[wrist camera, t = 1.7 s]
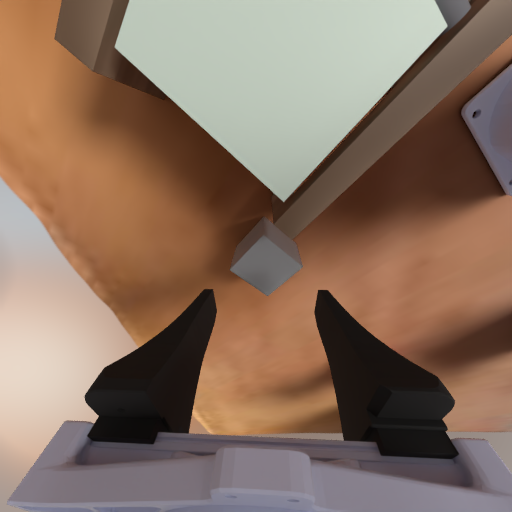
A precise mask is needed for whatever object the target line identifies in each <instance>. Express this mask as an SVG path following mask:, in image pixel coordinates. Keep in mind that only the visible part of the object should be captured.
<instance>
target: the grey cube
mask: <svg viewBox="0 0 512 512" xmlns="http://www.w3.org/2000/svg"><path fill="white" fill-rule="evenodd" d="M302 267H303V265H302V262H301V258H300V255H299V251H298V248H297V244H296V243H295V242H294V241H293V240H291V239H290V238H289V237H288V236H286V235H285V234H284V233H283V232H282V231H281V230H279V229H278V228H277V227H276V226H275V225H274V224H273V223H272V222H270V221H269V220H268V219H267V218H266V217H265V216H264V217H263V218H262V219H261V220H260V221H259V222H258V223H257V224H256V225H255V226H254V228H253V229H252V230H251V231H250V232H249V233H248V234H247V235H246V236H245V237H244V239H243V240H242V241H241V242H240V243H239V244H238V245H237V246H236V249H235V253H234V256H233V260H232V263H231V267H230V271H232V272H233V273H235V274H236V275H238V276H239V277H241V278H242V279H243V280H245V281H246V282H248V283H249V284H251V285H252V286H254V287H255V288H257V289H258V290H259V291H261V292H262V293H264V294H265V295H267V296H268V295H270V294H271V293H272V292H273V291H274V290H276V289H277V288H278V287H279V286H281V285H282V284H283V283H284V282H285V281H287V280H288V279H289V278H290V277H291V276H293V275H294V274H295V273H296V272H297V271H299V270H300V269H301V268H302Z"/></svg>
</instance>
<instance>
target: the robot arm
mask: <svg viewBox="0 0 512 512" xmlns="http://www.w3.org/2000/svg"><path fill="white" fill-rule="evenodd" d="M475 111H476V115H475V116H474V117H472V115H473V113H474V112H475ZM461 114H462V117H463V119H464V120H465V122H466V124H467V126H468V128H469V129H470V131H471V133H472V135H473V136H474V138H475V140H476V142H477V143H478V145H479V147H480V149H481V151H482V152H483V154H484V156H485V158H486V159H487V161H488V163H489V165H490V167H491V168H492V170H493V172H494V174H495V175H496V177H497V179H498V181H499V183H500V184H501V186H502V188H503V190H504V191H505V193H506V194H507V195H510V196H512V64H511V65H509V66H508V67H507V68H506V69H505V70H504V71H503V72H501V73H500V74H499V75H498V76H497V77H496V78H495V79H494V80H492V81H491V82H490V83H489V84H488V85H487V86H486V87H484V88H483V89H482V90H481V91H480V92H479V93H478V94H477V95H475V96H474V97H473V98H472V99H471V100H470V101H469V102H467V103H466V104H465V106H464V107H463V109H462V112H461ZM510 181H511V182H510ZM509 182H510V183H509ZM216 313H217V309H216V303H215V298H214V292H213V289H204V290H203V291H202V292H201V293H200V295H199V296H198V297H197V298H196V299H195V300H194V301H193V302H192V303H191V305H190V306H189V307H188V308H187V309H186V310H185V311H184V312H183V313H182V314H181V315H180V316H179V317H178V318H177V319H176V320H175V321H173V322H172V323H171V324H170V325H169V326H168V327H167V328H165V329H164V330H163V331H162V332H161V333H159V334H158V335H156V336H155V337H154V338H152V339H151V340H150V341H148V342H147V343H145V344H144V345H142V346H141V347H139V348H138V349H136V350H135V351H133V352H131V353H130V354H128V355H127V356H125V357H123V358H121V359H119V360H118V361H116V362H114V363H112V364H110V365H109V366H107V367H105V368H104V369H103V370H102V372H101V373H100V375H99V376H98V377H97V379H96V380H95V382H94V383H93V384H92V386H91V387H90V389H89V390H88V392H87V393H86V395H85V401H86V403H87V404H88V405H89V406H90V407H91V408H92V409H93V410H94V412H95V413H96V414H97V415H99V417H98V419H97V420H96V422H95V424H93V423H91V422H86V421H65V422H64V423H63V424H62V426H61V427H60V429H59V430H58V431H57V433H56V434H55V436H54V437H53V439H52V440H51V441H50V442H49V444H48V445H47V447H46V448H45V449H44V451H43V452H42V454H41V455H40V456H39V458H38V459H37V461H36V462H35V463H34V465H33V466H32V467H31V469H30V470H29V472H28V473H27V474H26V476H25V477H24V479H23V480H22V481H21V483H20V484H19V486H18V487H17V488H16V490H15V491H14V492H13V494H12V495H11V497H10V498H9V499H8V501H7V504H8V505H10V506H14V507H17V508H20V509H23V510H26V511H29V512H512V473H511V472H510V471H509V469H508V468H507V466H506V465H505V464H504V462H503V461H502V460H501V458H500V457H499V456H498V454H497V453H496V452H495V450H494V449H493V447H492V446H491V445H490V443H489V442H488V441H487V440H485V439H471V438H455V439H451V440H450V438H449V437H448V435H447V434H446V432H445V431H447V430H448V429H447V426H446V425H445V423H444V421H443V420H442V419H443V418H444V417H445V416H446V415H447V414H448V413H449V412H450V411H451V410H452V408H453V407H454V404H455V400H454V399H453V397H452V396H451V394H450V393H449V391H448V390H447V389H446V387H445V386H444V385H443V383H442V382H441V381H440V379H439V378H438V377H437V376H435V375H433V374H432V373H430V372H428V371H426V370H424V369H423V368H421V367H419V366H417V365H416V364H414V363H412V362H411V361H409V360H408V359H406V358H404V357H403V356H401V355H400V354H398V353H397V352H395V351H394V350H392V349H391V348H389V347H388V346H387V345H385V344H384V343H382V342H381V341H380V340H378V339H377V338H376V337H374V336H373V335H372V334H371V333H370V332H368V331H367V330H366V329H365V328H364V327H362V326H361V325H360V324H359V323H358V322H357V321H356V320H355V319H354V318H353V317H352V316H351V315H350V314H349V313H348V312H347V311H346V310H345V309H344V308H343V307H342V306H341V305H340V304H339V302H338V301H337V300H336V299H335V298H334V297H333V296H332V295H331V293H330V292H329V291H328V290H318V294H317V300H316V306H315V318H316V323H317V327H318V330H319V333H320V337H321V340H322V343H323V346H324V349H325V352H326V355H327V358H328V362H329V365H330V370H331V374H332V379H333V384H334V388H335V393H336V398H337V404H338V409H339V414H340V420H341V426H342V432H343V437H344V441H337V440H316V439H295V438H294V439H293V438H273V437H252V436H230V435H207V434H189V428H190V422H191V416H192V410H193V405H194V399H195V394H196V389H197V384H198V379H199V375H200V370H201V366H202V361H203V358H204V354H205V351H206V348H207V345H208V342H209V339H210V336H211V333H212V330H213V327H214V323H215V318H216Z"/></svg>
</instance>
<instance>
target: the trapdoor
mask: <svg viewBox="0 0 512 512" xmlns="http://www.w3.org/2000/svg"><path fill="white" fill-rule="evenodd" d="M470 8H471V6H470V4H469V1H468V0H129V3H128V6H127V9H126V13H125V16H124V19H123V22H122V25H121V28H120V31H119V35H118V38H117V41H116V44H115V48H116V49H117V50H118V51H119V52H120V53H121V54H122V55H123V56H125V57H126V58H127V59H128V60H129V61H130V62H131V63H132V64H133V65H134V66H135V67H137V68H138V69H139V70H140V71H141V72H142V73H143V74H144V75H145V76H146V77H148V78H149V79H150V80H151V81H152V82H153V83H154V84H155V85H156V86H157V87H158V88H160V89H161V90H162V91H163V92H164V93H165V94H166V95H167V96H168V97H169V98H170V99H172V100H173V101H174V102H175V103H176V104H177V105H178V106H179V107H180V108H181V109H183V110H184V111H185V112H186V113H187V114H188V115H189V116H190V117H191V118H192V119H193V120H195V121H196V122H197V123H198V124H199V125H200V126H201V127H202V128H203V129H204V130H205V131H207V132H208V133H209V134H210V135H211V136H212V137H213V138H214V139H215V140H216V141H218V142H219V143H220V144H221V145H222V146H223V147H224V148H225V149H226V150H227V151H228V152H230V153H231V154H232V155H233V156H234V157H235V158H236V159H237V160H238V161H239V162H240V163H242V164H243V165H244V166H245V167H246V168H247V169H248V170H249V171H250V172H251V173H253V174H254V175H255V176H256V177H257V178H258V179H259V180H260V181H261V182H262V183H263V184H265V185H266V186H267V187H268V188H269V189H270V190H271V191H272V192H273V193H274V194H275V195H277V196H278V197H279V198H280V199H281V200H282V201H283V202H284V201H285V200H286V199H287V198H288V197H289V196H290V195H291V194H292V193H293V192H294V190H295V189H296V188H297V187H298V186H299V185H300V184H301V183H302V182H303V181H304V180H305V179H306V178H307V177H308V175H309V174H310V173H311V172H312V171H313V170H314V169H315V168H316V167H317V166H318V165H319V164H320V163H321V162H322V160H323V159H324V158H325V157H326V156H327V155H328V154H329V153H330V152H331V151H332V150H333V149H334V148H335V146H336V145H337V144H338V143H339V142H340V141H341V140H342V139H343V138H344V137H345V136H346V135H347V134H348V133H349V131H350V130H351V129H352V128H353V127H354V126H355V125H356V124H357V123H358V122H359V121H360V120H361V119H362V118H363V116H364V115H365V114H366V113H367V112H368V111H369V110H370V109H371V108H372V107H373V106H374V105H375V104H376V103H377V101H378V100H379V99H380V98H381V97H382V96H383V95H384V94H385V93H386V92H387V91H388V90H389V89H390V88H391V86H392V85H393V84H394V83H395V82H396V81H397V80H398V79H399V78H400V77H401V76H402V75H403V74H404V73H405V71H406V70H407V69H408V68H409V67H410V66H411V65H412V64H413V63H414V62H415V61H416V60H417V59H418V57H419V56H420V55H421V54H422V53H423V52H424V51H425V50H426V49H427V48H428V47H429V46H430V45H431V44H432V42H433V41H434V40H435V39H436V38H439V37H441V36H442V35H444V34H445V33H446V32H448V31H449V30H450V29H451V28H452V27H453V26H454V25H456V24H457V23H458V22H459V21H460V20H461V19H462V18H463V17H464V16H465V15H466V14H467V12H468V11H469V10H470Z"/></svg>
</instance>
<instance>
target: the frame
mask: <svg viewBox="0 0 512 512" xmlns="http://www.w3.org/2000/svg"><path fill="white" fill-rule="evenodd" d="M468 1H469V4H470V6H471V8H470V10H469V11H468V12H467V14H466V15H465V16H464V17H463V18H462V19H461V20H460V21H459V22H458V23H457V24H456V25H454V26H453V27H452V28H451V29H450V30H449V31H448V32H446V33H445V34H444V35H442V36H441V37H439V38H436V39H435V40H434V41H433V42H432V44H431V45H430V46H429V47H428V48H427V49H426V50H425V51H424V52H423V53H422V54H421V55H420V56H419V57H418V59H417V60H416V61H415V62H414V63H413V64H412V65H411V66H410V67H409V68H408V69H407V70H406V71H405V73H404V74H403V75H402V76H401V77H400V78H399V79H398V80H397V81H396V82H395V83H394V84H393V85H392V88H393V89H392V90H391V91H390V92H389V93H388V94H387V96H386V97H385V98H384V99H383V100H382V101H381V102H380V103H379V104H378V105H377V106H376V107H375V108H374V109H373V110H372V111H371V113H370V114H369V115H368V116H367V117H366V118H365V119H364V120H363V121H362V122H361V123H360V124H359V125H358V126H357V127H356V128H355V130H354V131H353V132H352V133H351V134H350V135H349V136H348V137H347V138H346V139H345V140H344V141H343V142H342V143H341V144H340V146H339V147H338V148H337V149H336V150H335V151H334V152H333V153H332V154H331V155H330V156H329V157H328V158H327V159H326V160H325V161H324V163H323V164H322V165H321V166H320V167H319V168H318V169H317V170H316V171H315V172H314V173H313V174H312V175H311V176H310V177H309V178H308V180H307V181H306V182H305V183H304V184H303V185H302V186H301V187H300V188H299V189H298V190H297V191H296V192H295V193H294V192H293V193H292V194H291V195H290V196H289V197H288V198H287V199H286V200H285V201H284V202H283V201H282V200H281V199H280V198H279V197H278V196H277V195H275V194H273V195H272V196H271V200H272V212H273V224H274V225H275V226H276V227H277V228H278V229H279V230H281V231H282V232H283V233H284V234H285V235H286V236H288V237H289V238H290V239H291V240H293V239H294V238H295V237H296V236H297V235H298V234H299V233H300V232H301V231H302V230H303V229H304V228H305V227H306V226H307V225H309V224H310V223H311V222H312V221H313V220H314V219H315V218H316V217H317V216H318V215H319V214H320V213H321V212H322V211H324V210H325V209H326V208H327V207H328V206H329V205H330V204H331V203H332V202H333V201H334V200H335V199H336V198H337V197H339V196H340V195H341V194H342V193H343V192H344V191H345V190H346V189H347V188H348V187H349V186H350V185H351V184H352V183H354V182H355V181H356V180H357V179H358V178H359V177H360V176H361V175H362V174H363V173H364V172H365V171H366V170H367V169H369V168H370V167H371V166H372V165H373V164H374V163H375V162H376V161H377V160H378V159H379V158H380V157H381V156H382V155H384V154H385V153H386V152H387V151H388V150H389V149H390V148H391V147H392V146H393V145H394V144H395V143H396V142H397V141H398V140H400V139H401V138H402V137H403V136H404V135H405V134H406V133H407V132H408V131H409V130H410V129H411V128H412V127H413V126H415V125H416V124H417V123H418V122H419V121H420V120H421V119H422V118H423V117H424V116H425V115H426V114H427V113H428V112H430V111H431V110H432V109H433V108H434V107H435V106H436V105H437V104H438V103H439V102H440V101H441V100H442V99H443V98H445V97H446V96H447V95H448V94H449V93H450V92H451V91H452V90H453V89H454V88H455V87H456V86H457V85H458V84H460V83H461V82H462V81H463V80H464V79H465V78H466V77H467V76H468V75H469V74H470V73H471V72H472V71H473V70H474V69H476V68H477V67H478V66H479V65H480V64H481V63H482V62H483V61H484V60H485V59H486V58H487V57H488V56H489V55H491V54H492V53H493V52H494V51H495V50H496V49H497V48H498V47H499V46H500V45H501V44H502V43H503V42H504V41H506V40H507V39H508V38H509V37H510V36H511V35H512V0H468ZM128 3H129V0H62V3H61V8H60V13H59V18H58V23H57V28H56V33H55V38H54V39H55V40H56V41H58V42H59V43H60V44H61V45H62V46H64V47H65V48H66V49H67V50H68V51H69V52H71V53H72V54H73V55H74V56H75V57H76V58H78V59H79V60H80V61H81V62H82V63H84V64H85V65H86V66H87V67H88V68H89V69H91V70H92V71H93V72H96V73H98V74H101V75H103V76H106V77H108V78H111V79H113V80H116V81H118V82H121V83H123V84H126V85H128V86H131V87H133V88H136V89H138V90H141V91H143V92H146V93H148V94H151V95H153V96H156V97H158V98H161V99H163V100H164V98H165V96H166V94H165V93H164V92H163V91H162V90H161V89H160V88H158V87H157V86H156V85H155V84H154V83H153V82H152V81H151V80H150V79H149V78H148V77H146V76H145V75H144V74H143V73H142V72H141V71H140V70H139V69H138V68H137V67H135V66H134V65H133V64H132V63H131V62H130V61H129V60H128V59H127V58H126V57H125V56H123V55H122V54H121V53H120V52H119V51H118V50H117V49H116V48H115V44H116V41H117V38H118V35H119V31H120V28H121V25H122V22H123V19H124V16H125V13H126V9H127V6H128Z"/></svg>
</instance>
